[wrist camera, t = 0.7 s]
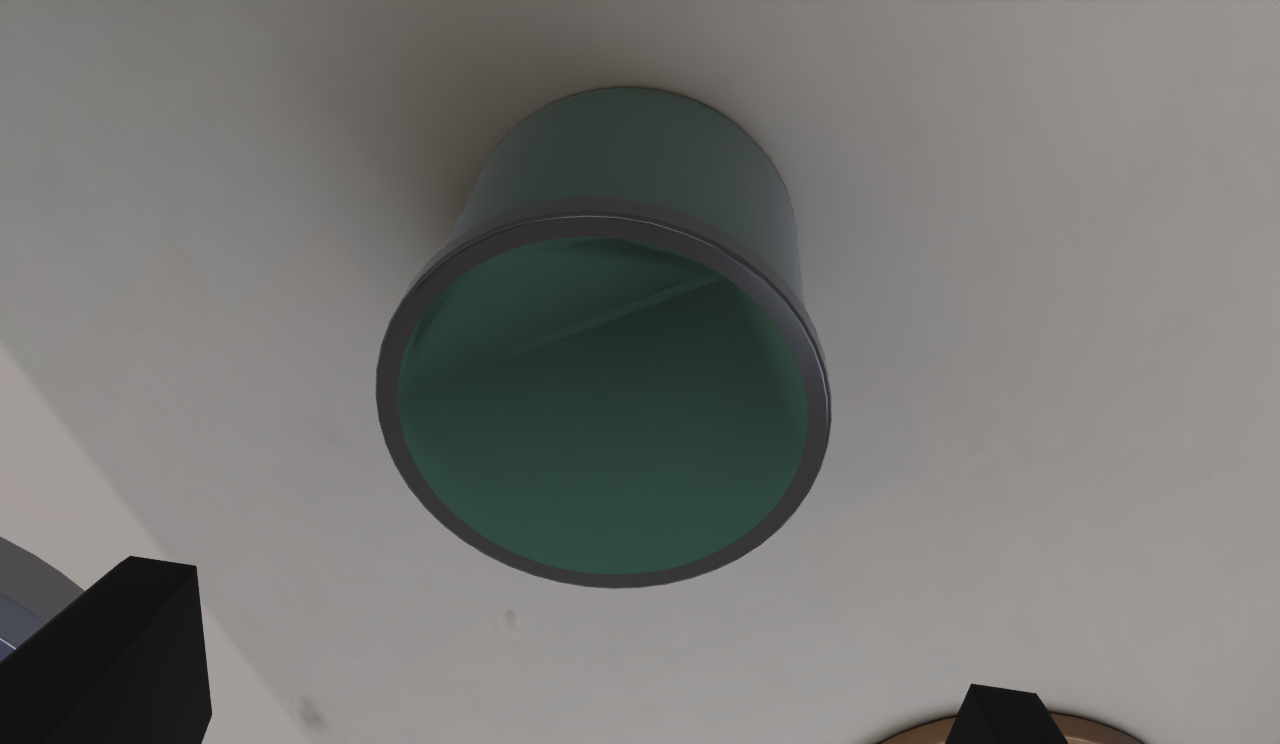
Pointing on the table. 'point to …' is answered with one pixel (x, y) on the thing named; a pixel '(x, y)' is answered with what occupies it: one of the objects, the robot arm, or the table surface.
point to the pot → (611, 350)
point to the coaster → (1083, 736)
